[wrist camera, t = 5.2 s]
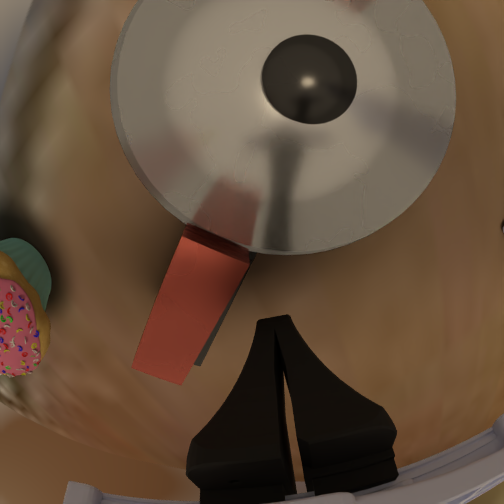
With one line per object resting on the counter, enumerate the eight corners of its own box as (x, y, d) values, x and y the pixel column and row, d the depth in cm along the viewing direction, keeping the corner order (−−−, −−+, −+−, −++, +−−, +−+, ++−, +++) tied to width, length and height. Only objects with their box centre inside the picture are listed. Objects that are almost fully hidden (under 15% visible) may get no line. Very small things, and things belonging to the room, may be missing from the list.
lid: (272, -139, 4) (277, -161, 2) (497, 2, 7) (524, -2, 5) (55, 313, 13) (39, 337, 11) (264, 390, 15) (267, 418, 14)
